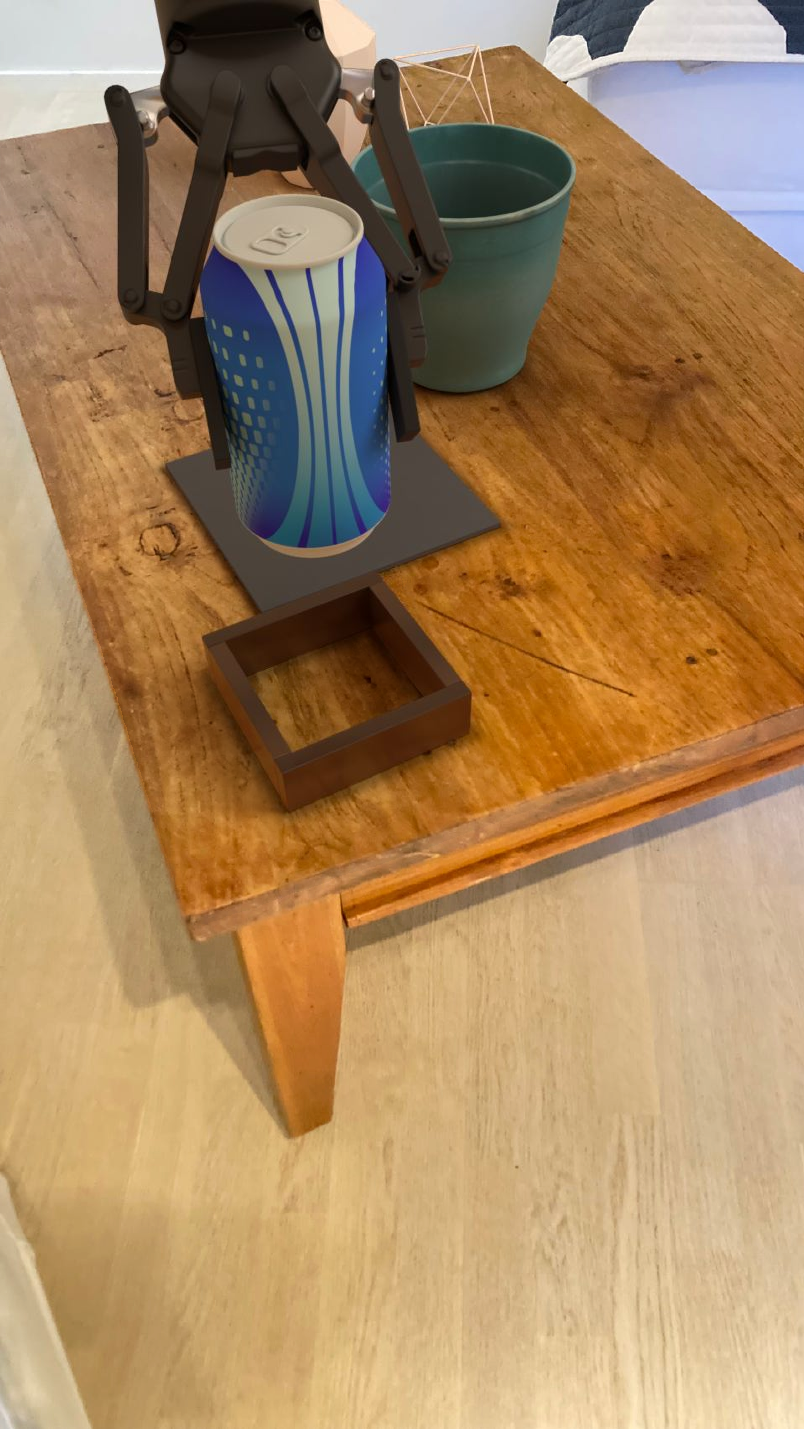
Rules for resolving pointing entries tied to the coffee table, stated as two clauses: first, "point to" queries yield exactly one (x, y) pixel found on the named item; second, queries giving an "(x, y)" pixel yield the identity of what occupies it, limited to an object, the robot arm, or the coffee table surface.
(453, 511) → the rubber mat
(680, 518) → the coffee table surface
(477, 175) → the flower pot
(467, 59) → the geometric polyhedron
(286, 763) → the can holder
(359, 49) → the vase
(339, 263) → the beer can
